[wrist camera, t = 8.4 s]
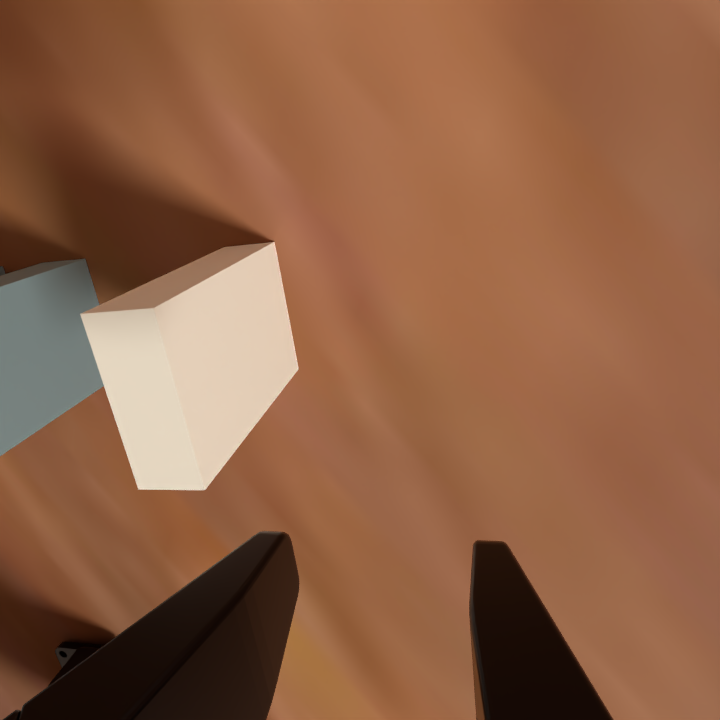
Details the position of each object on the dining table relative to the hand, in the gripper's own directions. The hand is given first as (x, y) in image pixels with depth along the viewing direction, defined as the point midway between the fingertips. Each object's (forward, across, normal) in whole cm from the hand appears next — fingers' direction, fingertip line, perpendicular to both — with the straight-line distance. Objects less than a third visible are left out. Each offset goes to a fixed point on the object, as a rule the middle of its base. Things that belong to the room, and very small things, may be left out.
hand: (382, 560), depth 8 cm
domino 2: (+13, +7, 0) cm, 15 cm away
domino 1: (+13, +15, 0) cm, 20 cm away
